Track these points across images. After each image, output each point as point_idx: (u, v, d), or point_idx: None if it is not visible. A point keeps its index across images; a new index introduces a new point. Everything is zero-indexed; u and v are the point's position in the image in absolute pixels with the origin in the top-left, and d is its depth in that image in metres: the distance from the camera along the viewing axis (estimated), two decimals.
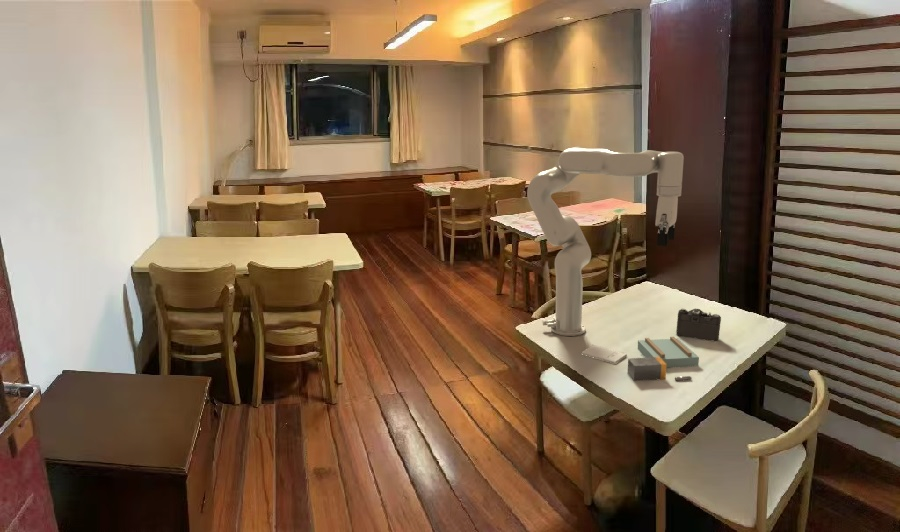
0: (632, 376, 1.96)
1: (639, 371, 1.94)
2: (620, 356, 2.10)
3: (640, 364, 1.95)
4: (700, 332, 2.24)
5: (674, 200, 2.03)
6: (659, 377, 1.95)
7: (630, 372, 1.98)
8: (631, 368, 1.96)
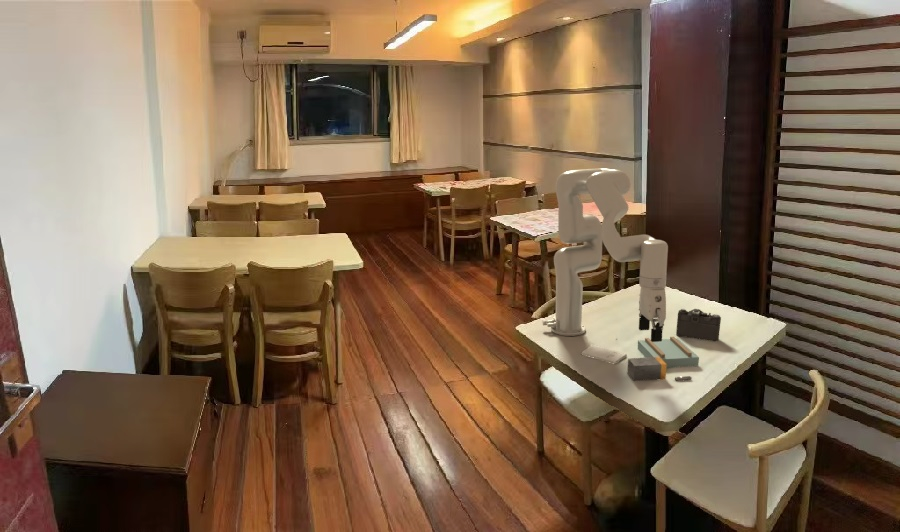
0: (632, 376, 1.96)
1: (639, 371, 1.94)
2: (620, 356, 2.10)
3: (640, 364, 1.95)
4: (700, 332, 2.24)
5: (641, 288, 1.92)
6: (659, 377, 1.95)
7: (630, 372, 1.98)
8: (631, 368, 1.96)
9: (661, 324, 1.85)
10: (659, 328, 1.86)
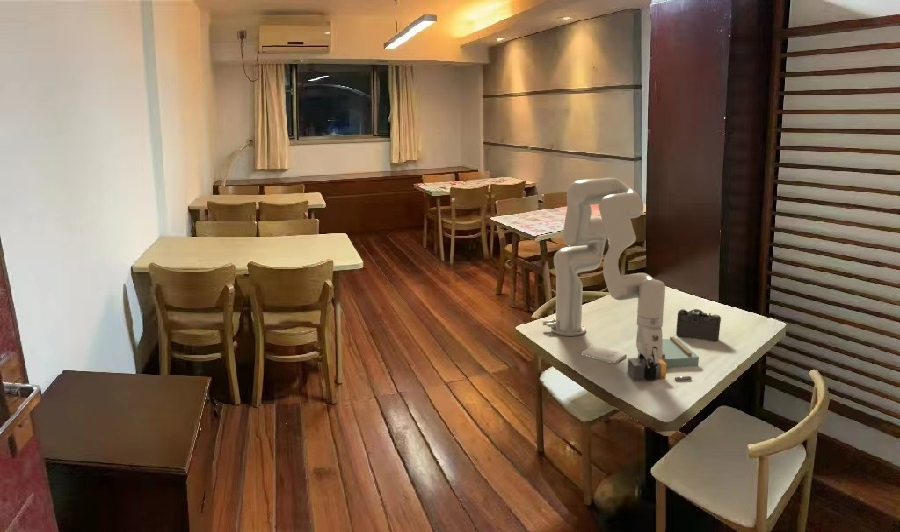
0: (632, 376, 1.96)
1: (639, 371, 1.94)
2: (620, 356, 2.11)
3: (640, 364, 1.95)
4: (700, 332, 2.24)
5: (639, 326, 1.96)
6: (659, 377, 1.95)
7: (630, 372, 1.98)
8: (631, 367, 1.96)
9: (655, 365, 1.90)
10: (653, 367, 1.92)
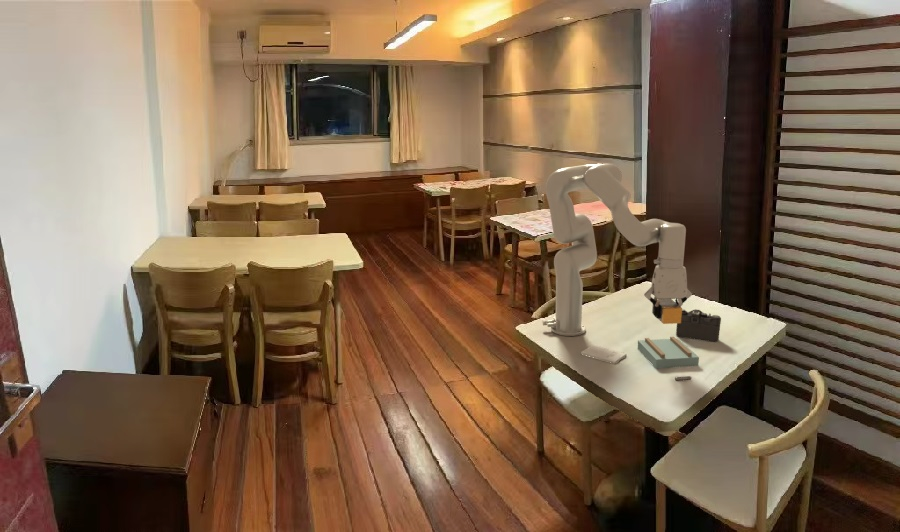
0: None
1: None
2: (620, 356, 2.11)
3: None
4: (700, 333, 2.24)
5: None
6: (661, 319, 2.02)
7: None
8: None
9: (648, 299, 2.03)
10: (653, 303, 2.03)
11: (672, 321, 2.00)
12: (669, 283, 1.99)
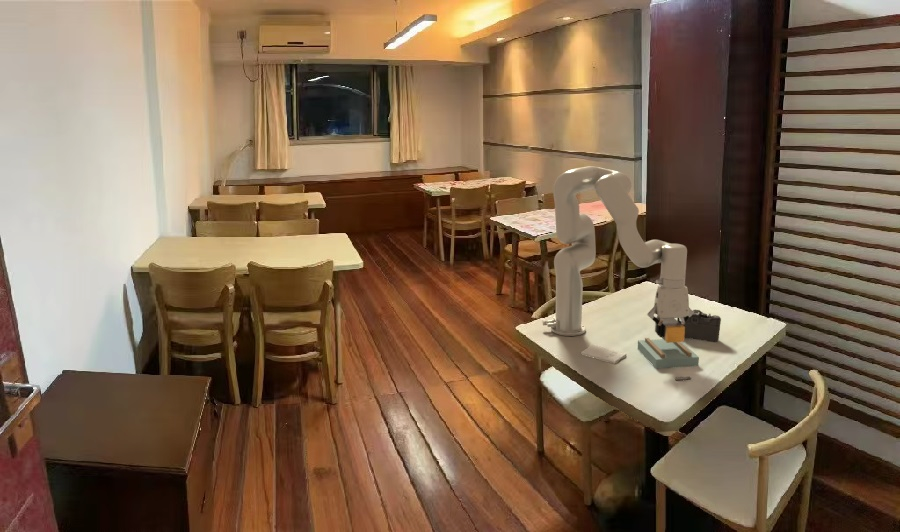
0: None
1: None
2: (620, 356, 2.11)
3: None
4: (700, 333, 2.23)
5: None
6: (664, 338, 2.06)
7: None
8: None
9: None
10: (656, 323, 2.07)
11: (675, 340, 2.04)
12: (672, 303, 2.03)
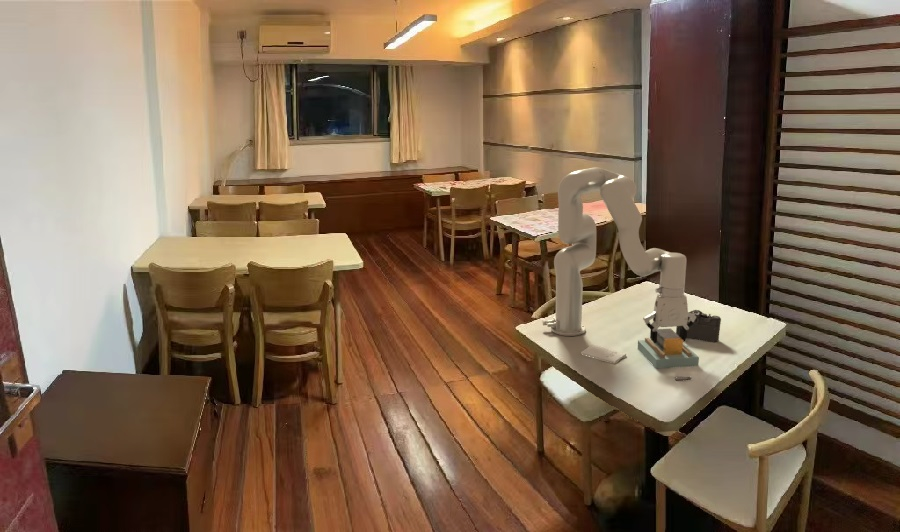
0: None
1: None
2: (619, 356, 2.11)
3: (659, 331, 2.12)
4: (700, 333, 2.23)
5: None
6: (662, 350, 2.07)
7: None
8: None
9: (646, 323, 2.07)
10: (650, 328, 2.08)
11: (673, 352, 2.05)
12: (671, 311, 2.04)
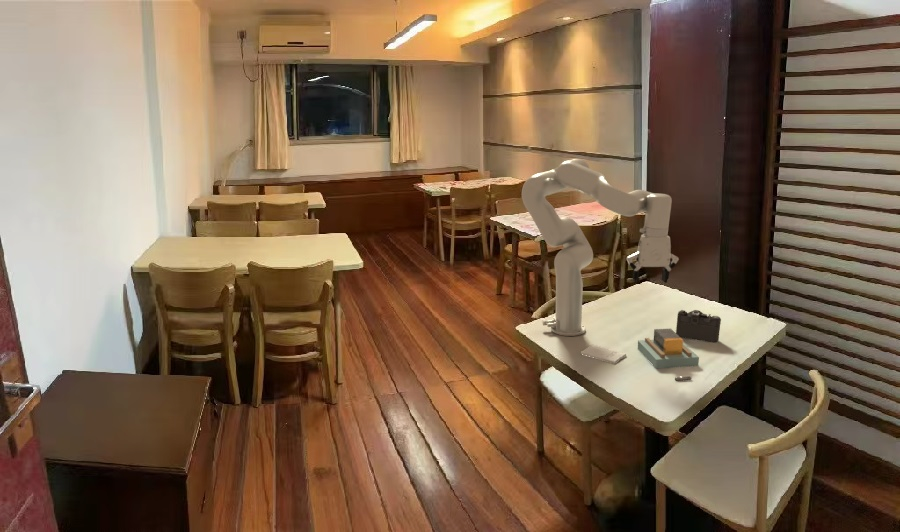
0: None
1: (655, 336, 2.13)
2: (619, 356, 2.11)
3: (659, 331, 2.12)
4: (700, 333, 2.23)
5: None
6: (662, 350, 2.07)
7: None
8: None
9: None
10: None
11: (673, 352, 2.05)
12: (653, 251, 2.07)
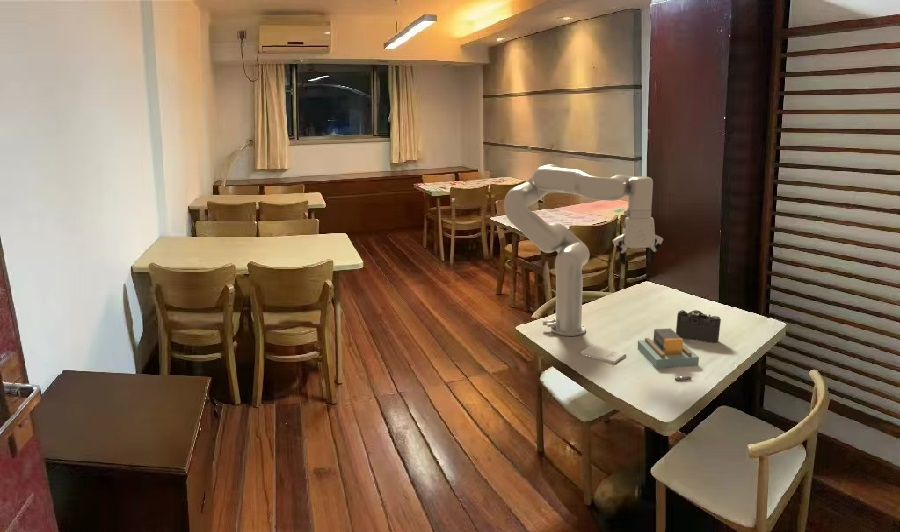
0: None
1: (655, 336, 2.13)
2: (619, 356, 2.11)
3: (659, 331, 2.12)
4: (700, 333, 2.23)
5: None
6: (662, 350, 2.07)
7: None
8: None
9: (615, 245, 2.16)
10: (619, 250, 2.17)
11: (673, 352, 2.05)
12: (638, 233, 2.13)
